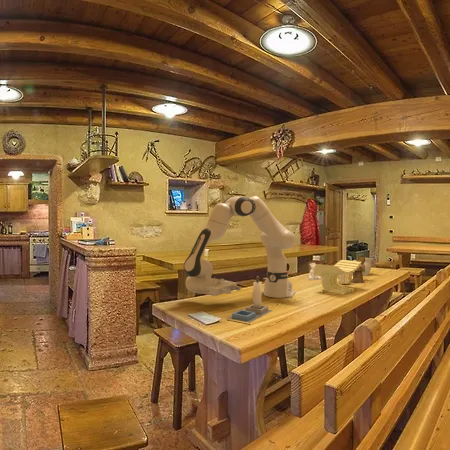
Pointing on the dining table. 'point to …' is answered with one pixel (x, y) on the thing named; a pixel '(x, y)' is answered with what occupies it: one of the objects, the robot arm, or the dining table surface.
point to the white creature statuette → (311, 274)
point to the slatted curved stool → (335, 275)
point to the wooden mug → (358, 272)
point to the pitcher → (366, 266)
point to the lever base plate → (249, 314)
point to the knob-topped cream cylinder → (257, 293)
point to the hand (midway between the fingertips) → (235, 290)
